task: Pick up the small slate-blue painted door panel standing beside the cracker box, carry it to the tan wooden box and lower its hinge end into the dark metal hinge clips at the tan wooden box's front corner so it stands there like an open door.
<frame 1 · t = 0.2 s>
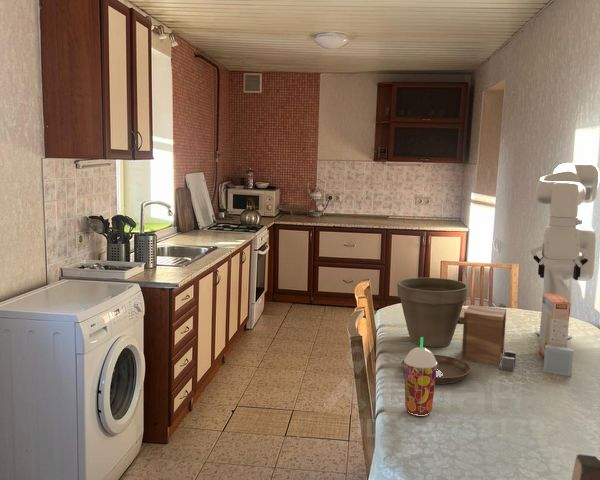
hand: (558, 278, 173), 30 cm above the table, tool pointing down, fingers open, 9 cm apart
tan wooden box: (482, 357, 190), on the table
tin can: (461, 319, 240), on the table
cracker box: (551, 358, 191), on the table
plant saucer: (434, 375, 173), on the table
door: (557, 372, 177), on the table
plant pot: (429, 341, 207), on the table
hinge clips: (508, 366, 181), on the table
smoothie: (418, 413, 145), on the table
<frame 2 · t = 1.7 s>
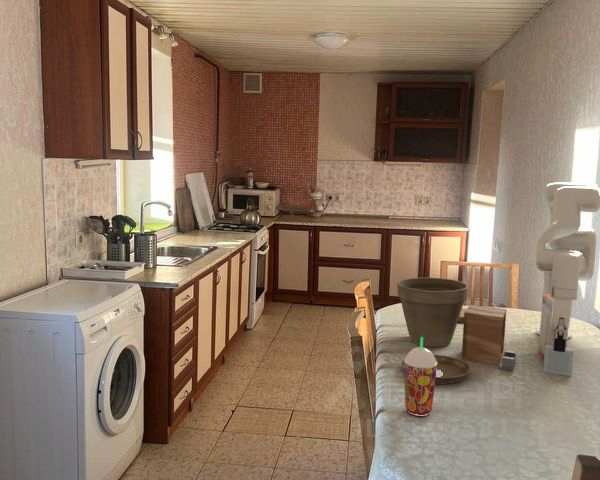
hand: (559, 347, 175), 8 cm above the table, tool pointing down, fingers open, 9 cm apart
nothing on the table moved.
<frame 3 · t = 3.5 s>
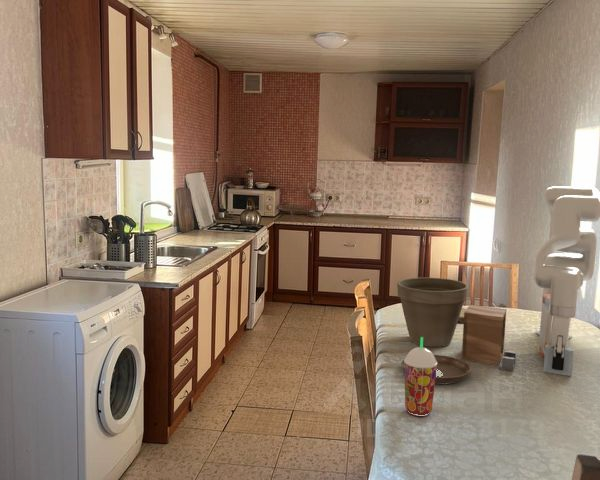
hand: (557, 367, 177), 2 cm above the table, tool pointing down, fingers closed on door, 3 cm apart
door: (557, 372, 177), on the table, touching gripper
everything else where it was.
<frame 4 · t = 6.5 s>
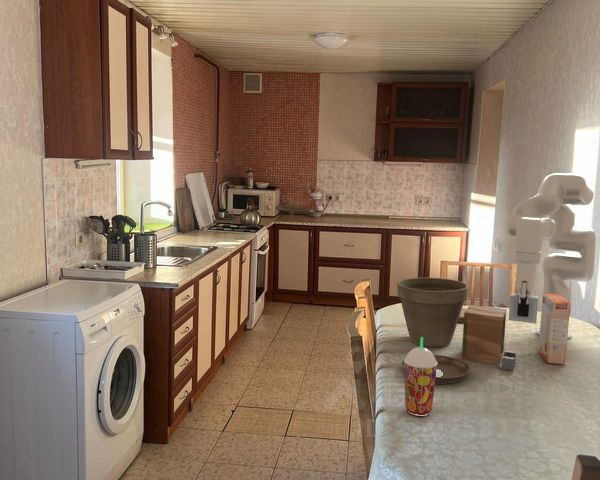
hand: (523, 314, 177), 18 cm above the table, tool pointing down, fingers closed on door, 3 cm apart
door: (522, 320, 178), point 16 cm above the table, touching gripper
everything else where it was.
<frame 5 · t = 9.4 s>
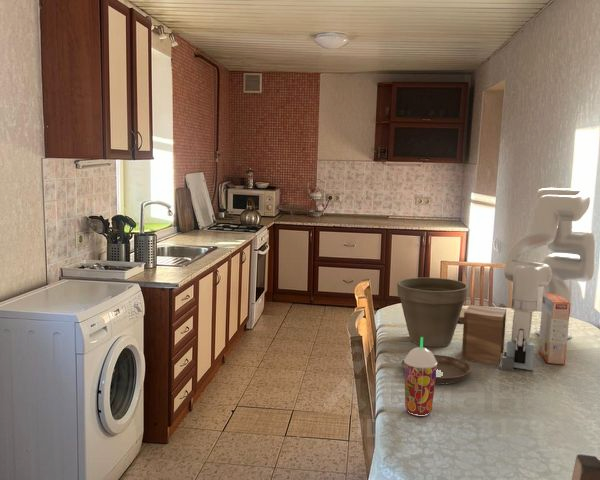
hand: (520, 360, 179), 3 cm above the table, tool pointing down, fingers closed on door, 3 cm apart
door: (519, 366, 180), point 1 cm above the table, touching gripper
everything else where it was.
when the fingers open (3 cm above the table, at t = 9.7 s): door stays where it is, on the table.
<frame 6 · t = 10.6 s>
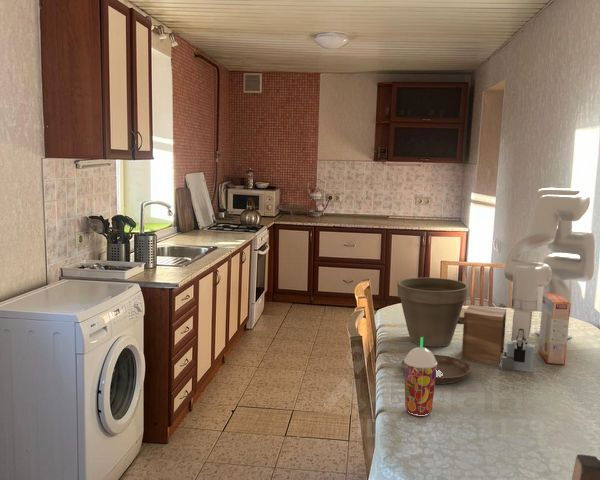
hand: (520, 356, 179), 4 cm above the table, tool pointing down, fingers open, 9 cm apart
door: (519, 368, 180), on the table
everything else where it was.
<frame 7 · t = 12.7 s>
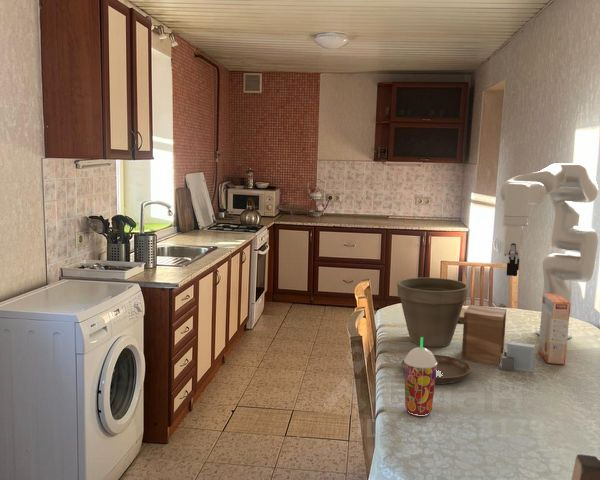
hand: (512, 272, 186), 29 cm above the table, tool pointing down, fingers open, 9 cm apart
nothing on the table moved.
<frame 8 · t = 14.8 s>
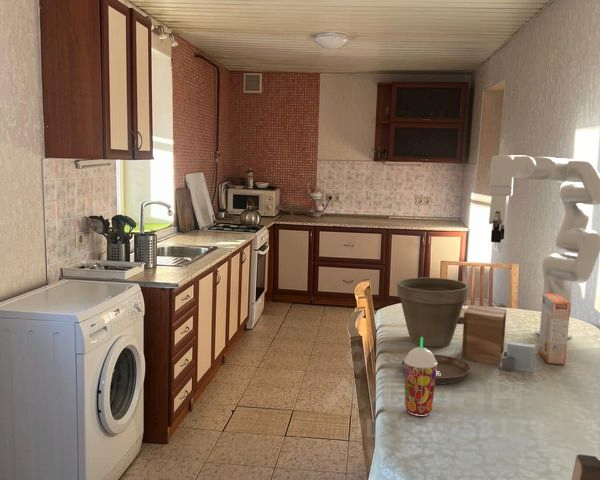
hand: (497, 240, 196), 38 cm above the table, tool pointing down, fingers open, 9 cm apart
nothing on the table moved.
at the end: door 0.0 cm from the target spot, on the table; door tilted 0°; the gripper is holding nothing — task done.
